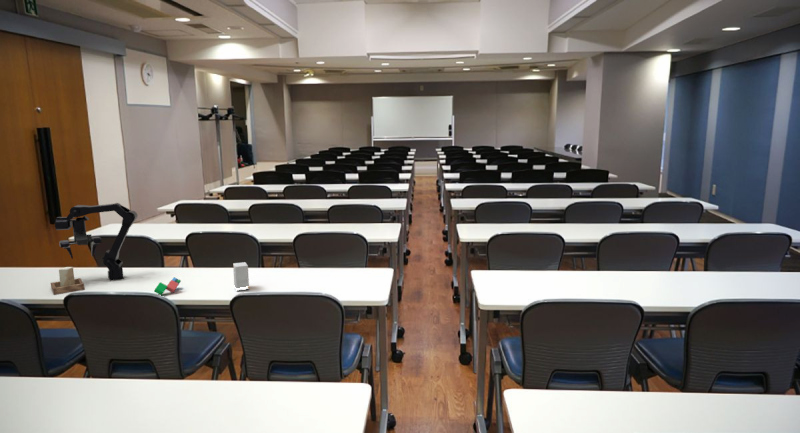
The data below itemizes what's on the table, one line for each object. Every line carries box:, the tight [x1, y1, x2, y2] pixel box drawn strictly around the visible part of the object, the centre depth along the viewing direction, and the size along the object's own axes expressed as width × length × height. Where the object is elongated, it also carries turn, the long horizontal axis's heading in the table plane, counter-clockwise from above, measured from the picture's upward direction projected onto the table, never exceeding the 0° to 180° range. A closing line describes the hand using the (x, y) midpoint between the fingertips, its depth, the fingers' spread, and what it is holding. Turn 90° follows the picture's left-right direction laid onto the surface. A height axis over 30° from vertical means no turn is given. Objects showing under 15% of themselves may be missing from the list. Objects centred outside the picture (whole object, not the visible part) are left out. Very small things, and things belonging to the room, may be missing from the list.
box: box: [58, 266, 75, 287], centre depth 253 cm, size 5×4×11 cm
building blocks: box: [153, 276, 182, 296], centre depth 249 cm, size 8×8×12 cm
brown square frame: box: [50, 278, 85, 296], centre depth 254 cm, size 13×13×3 cm
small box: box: [232, 261, 250, 288], centre depth 254 cm, size 8×6×13 cm
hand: (82, 257), depth 266 cm, fingers open, 9 cm apart
